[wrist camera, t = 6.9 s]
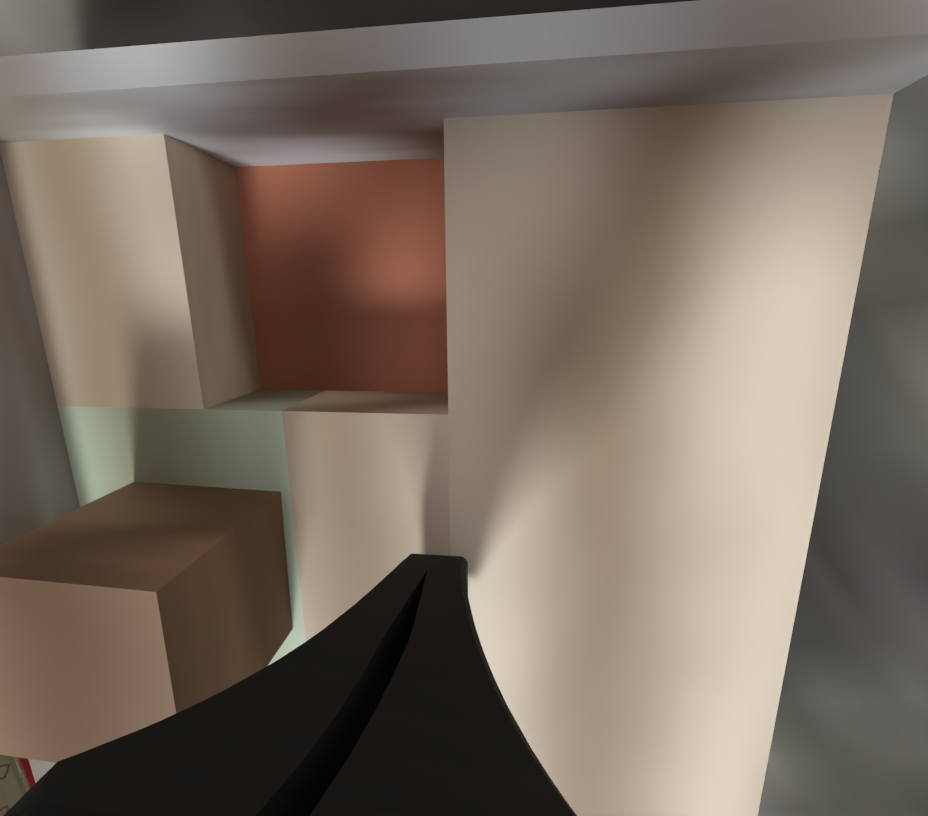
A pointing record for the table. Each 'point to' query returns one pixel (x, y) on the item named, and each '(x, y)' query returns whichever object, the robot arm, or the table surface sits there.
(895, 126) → the table surface
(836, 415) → the table surface
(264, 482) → the board
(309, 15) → the table surface
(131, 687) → the walnut block
